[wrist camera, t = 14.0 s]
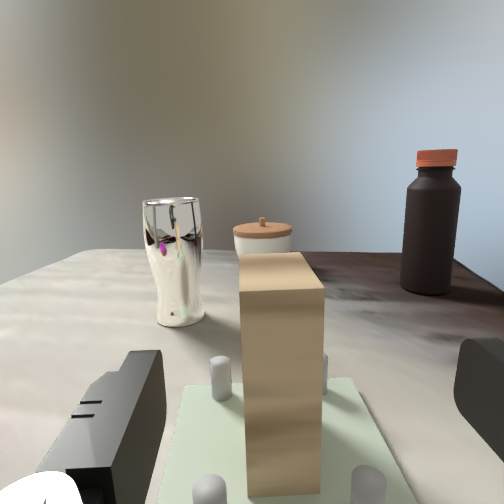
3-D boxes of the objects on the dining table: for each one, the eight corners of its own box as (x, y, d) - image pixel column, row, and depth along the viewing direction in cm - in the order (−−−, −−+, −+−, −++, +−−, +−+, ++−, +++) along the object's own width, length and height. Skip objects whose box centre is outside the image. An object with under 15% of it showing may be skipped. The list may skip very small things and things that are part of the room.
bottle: (393, 280, 56) (403, 151, 51) (437, 280, 55) (451, 150, 51) (408, 296, 50) (420, 149, 45) (458, 296, 49) (476, 148, 44)
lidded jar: (284, 258, 71) (284, 213, 69) (298, 274, 61) (298, 221, 59) (232, 261, 70) (230, 215, 68) (237, 278, 60) (235, 224, 57)
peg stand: (444, 572, 16) (453, 504, 15) (141, 593, 16) (130, 524, 15) (349, 387, 30) (351, 345, 29) (185, 395, 29) (181, 353, 28)
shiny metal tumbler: (193, 302, 50) (185, 196, 46) (217, 318, 44) (210, 199, 40) (145, 315, 46) (132, 200, 42) (164, 334, 40) (152, 204, 37)
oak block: (319, 493, 19) (324, 288, 16) (247, 497, 19) (239, 291, 16) (299, 408, 26) (299, 252, 23) (245, 410, 26) (239, 254, 23)
